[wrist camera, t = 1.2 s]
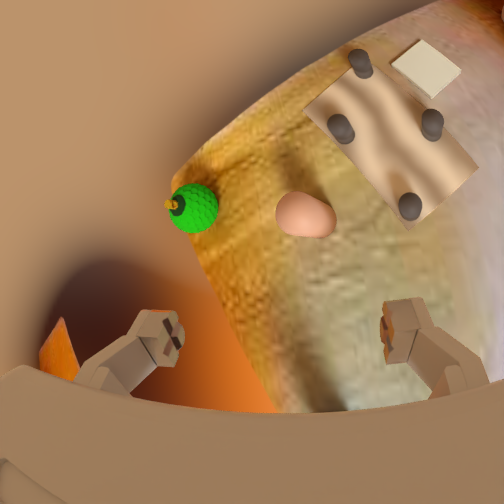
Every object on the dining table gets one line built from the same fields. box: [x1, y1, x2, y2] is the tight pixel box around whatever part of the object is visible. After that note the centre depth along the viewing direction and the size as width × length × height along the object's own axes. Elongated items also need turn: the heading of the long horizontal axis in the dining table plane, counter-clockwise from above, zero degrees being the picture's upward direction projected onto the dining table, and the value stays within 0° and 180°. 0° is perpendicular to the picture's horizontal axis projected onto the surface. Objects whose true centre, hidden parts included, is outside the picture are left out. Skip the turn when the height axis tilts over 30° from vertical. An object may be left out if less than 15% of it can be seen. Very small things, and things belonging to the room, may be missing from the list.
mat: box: [391, 40, 461, 99], centre depth 30 cm, size 8×8×1 cm
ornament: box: [164, 183, 218, 233], centre depth 46 cm, size 8×8×10 cm
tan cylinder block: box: [276, 191, 337, 238], centre depth 36 cm, size 5×5×9 cm
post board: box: [302, 49, 479, 231], centre depth 33 cm, size 14×24×5 cm, turn 38°
